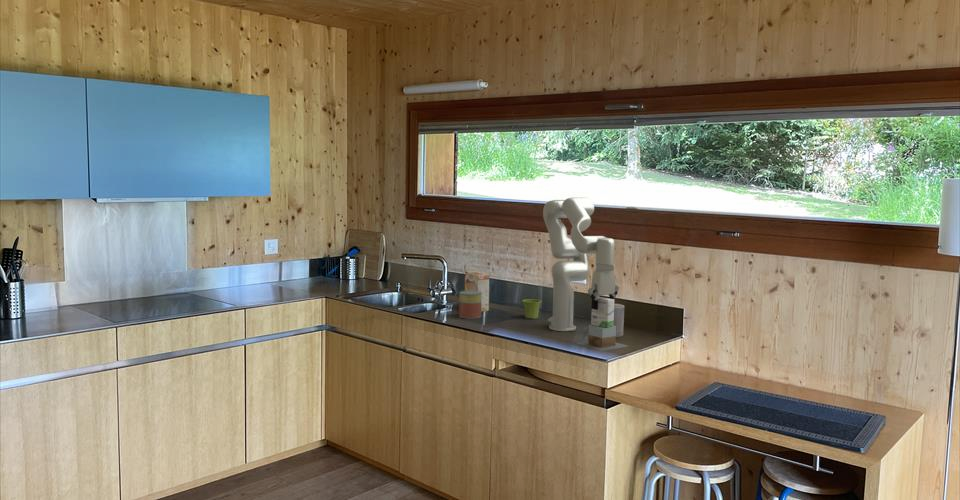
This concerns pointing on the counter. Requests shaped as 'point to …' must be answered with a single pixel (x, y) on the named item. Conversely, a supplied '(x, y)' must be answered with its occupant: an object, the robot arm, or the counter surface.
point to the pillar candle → (619, 319)
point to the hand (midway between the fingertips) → (602, 308)
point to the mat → (585, 343)
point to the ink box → (603, 313)
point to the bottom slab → (601, 341)
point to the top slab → (602, 331)
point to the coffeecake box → (478, 286)
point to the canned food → (470, 304)
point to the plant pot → (531, 308)
